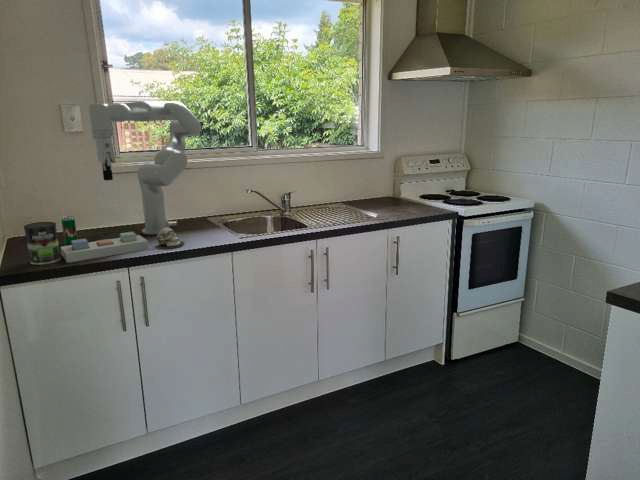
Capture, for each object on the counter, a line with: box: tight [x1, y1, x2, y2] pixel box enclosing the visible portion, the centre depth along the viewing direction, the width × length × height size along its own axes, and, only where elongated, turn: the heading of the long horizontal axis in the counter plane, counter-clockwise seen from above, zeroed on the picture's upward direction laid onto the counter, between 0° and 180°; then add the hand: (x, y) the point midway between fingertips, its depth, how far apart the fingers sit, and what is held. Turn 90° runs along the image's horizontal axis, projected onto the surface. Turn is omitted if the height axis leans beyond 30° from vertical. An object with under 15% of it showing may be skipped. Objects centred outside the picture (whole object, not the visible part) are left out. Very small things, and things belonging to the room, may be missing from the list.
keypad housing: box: [60, 234, 150, 264], centre depth 185 cm, size 30×12×4 cm, turn 127°
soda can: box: [60, 215, 78, 246], centre depth 195 cm, size 5×5×12 cm
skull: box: [153, 227, 185, 249], centre depth 194 cm, size 12×10×10 cm
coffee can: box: [23, 221, 62, 266], centre depth 173 cm, size 10×10×14 cm
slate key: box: [71, 238, 89, 251], centre depth 179 cm, size 5×5×4 cm
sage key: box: [119, 231, 137, 243], centre depth 190 cm, size 5×5×4 cm
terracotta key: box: [96, 238, 113, 247], centre depth 185 cm, size 5×5×4 cm
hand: (108, 179), depth 193 cm, fingers closed
